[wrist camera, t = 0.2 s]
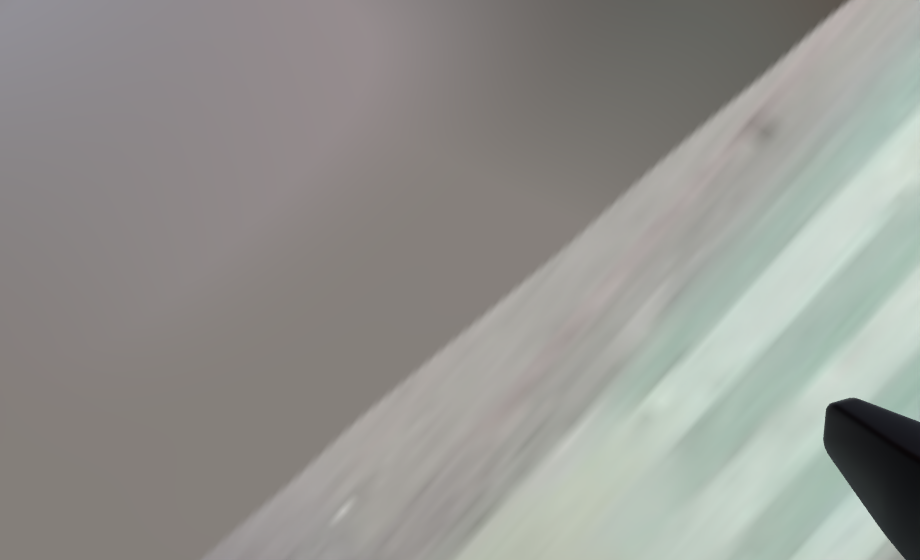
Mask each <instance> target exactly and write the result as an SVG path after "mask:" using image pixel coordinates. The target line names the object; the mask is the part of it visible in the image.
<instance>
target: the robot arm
mask: <svg viewBox="0 0 920 560" xmlns="http://www.w3.org/2000/svg"><path fill="white" fill-rule="evenodd" d="M823 441H824V446H825V449H826V451H827V453H828V455H829V456H830V458H831V459H832V460H833V462H834V463H835V465H836V466H837V468H838V469H839V470H840V472H841V473H842V475H843V476H844V478H845V479H846V480H847V482H848V483H849V485H850V486H851V487H852V489H853V490H854V492H855V493H856V495H857V496H858V497H859V499H860V500H861V502H862V503H863V505H864V506H865V507H866V509H867V510H868V512H869V513H870V514H871V516H872V517H873V519H874V520H875V522H876V523H877V524H878V526H879V527H880V528H881V530H882V531H883V532H884V534H885V535H886V536H887V538H888V539H889V540H890V541H891V543H892V544H893V545H894V546H895V548H896V549H897V550H898V551H899V552H900V554H901V555H902V556H903V557H904V558H905V559H906V560H920V422H918V421H916V420H913V419H910V418H908V417H905V416H902V415H900V414H897V413H894V412H892V411H889V410H887V409H884V408H881V407H879V406H876V405H873V404H871V403H868V402H865V401H863V400H860V399H857V398H848V399H844V400H840V401H837V402H834V403H831V404H829V405H828V407H827V409H826V416H825V426H824V437H823Z"/></svg>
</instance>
